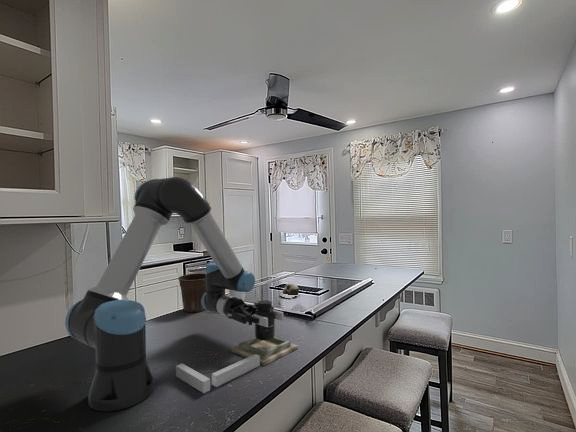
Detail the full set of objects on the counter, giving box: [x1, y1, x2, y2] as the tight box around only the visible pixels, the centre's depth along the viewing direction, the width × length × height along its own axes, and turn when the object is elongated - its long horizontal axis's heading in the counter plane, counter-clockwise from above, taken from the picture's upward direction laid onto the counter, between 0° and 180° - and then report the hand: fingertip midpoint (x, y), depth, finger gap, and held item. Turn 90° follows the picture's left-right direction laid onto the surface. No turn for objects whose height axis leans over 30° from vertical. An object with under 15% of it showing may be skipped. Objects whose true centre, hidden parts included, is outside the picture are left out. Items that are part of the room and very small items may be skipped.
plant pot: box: [177, 272, 207, 313], centre depth 160 cm, size 16×16×16 cm
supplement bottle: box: [254, 299, 276, 340], centre depth 111 cm, size 7×7×12 cm
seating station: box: [231, 335, 299, 366], centre depth 111 cm, size 16×16×2 cm
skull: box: [281, 282, 300, 295], centre depth 182 cm, size 12×10×10 cm
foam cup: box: [228, 290, 246, 302], centre depth 167 cm, size 10×9×13 cm
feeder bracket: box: [175, 354, 261, 394], centre depth 97 cm, size 20×14×3 cm
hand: (275, 319), depth 108 cm, fingers closed on supplement bottle, 7 cm apart
